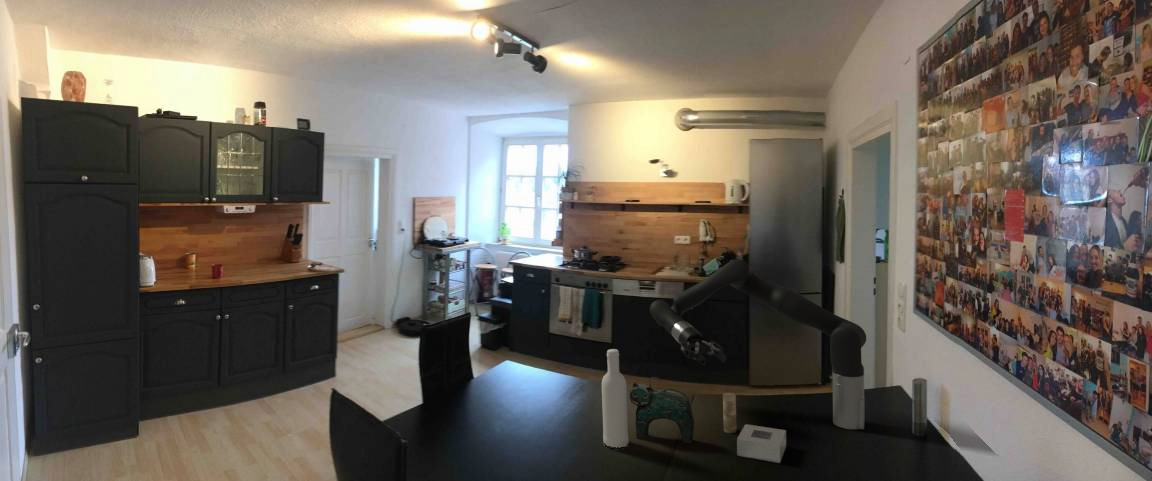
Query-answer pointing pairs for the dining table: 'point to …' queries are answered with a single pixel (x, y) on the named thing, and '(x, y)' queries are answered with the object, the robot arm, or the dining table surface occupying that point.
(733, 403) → the wooden peg
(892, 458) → the dining table surface
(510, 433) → the dining table surface
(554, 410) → the dining table surface
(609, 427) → the bottle
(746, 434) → the socket block
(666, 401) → the ceramic cat
